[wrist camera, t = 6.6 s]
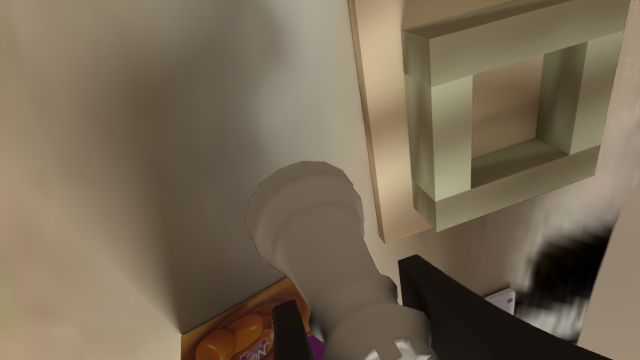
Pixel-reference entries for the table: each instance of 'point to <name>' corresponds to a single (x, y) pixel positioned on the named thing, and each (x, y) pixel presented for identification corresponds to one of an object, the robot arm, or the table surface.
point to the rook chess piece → (334, 265)
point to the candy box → (247, 329)
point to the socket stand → (480, 102)
